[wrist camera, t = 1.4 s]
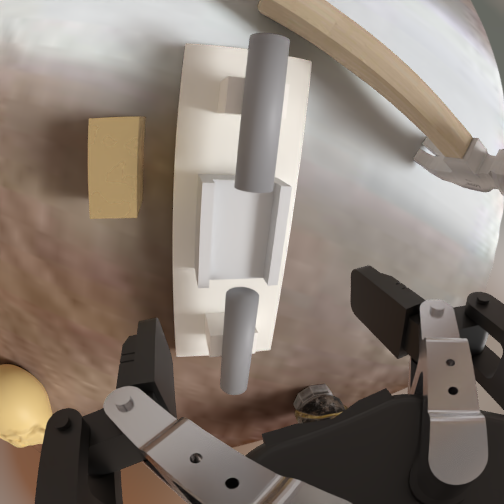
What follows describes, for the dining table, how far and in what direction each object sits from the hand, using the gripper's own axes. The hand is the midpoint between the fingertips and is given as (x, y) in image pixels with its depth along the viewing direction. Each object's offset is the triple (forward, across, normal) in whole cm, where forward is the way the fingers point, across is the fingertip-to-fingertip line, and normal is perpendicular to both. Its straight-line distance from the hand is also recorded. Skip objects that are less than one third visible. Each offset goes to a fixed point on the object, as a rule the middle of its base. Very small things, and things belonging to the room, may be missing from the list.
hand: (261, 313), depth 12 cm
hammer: (+20, -19, -11) cm, 30 cm away
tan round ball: (+22, +34, +19) cm, 45 cm away
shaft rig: (+21, -2, +2) cm, 21 cm away
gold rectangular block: (+20, +7, -6) cm, 22 cm away
